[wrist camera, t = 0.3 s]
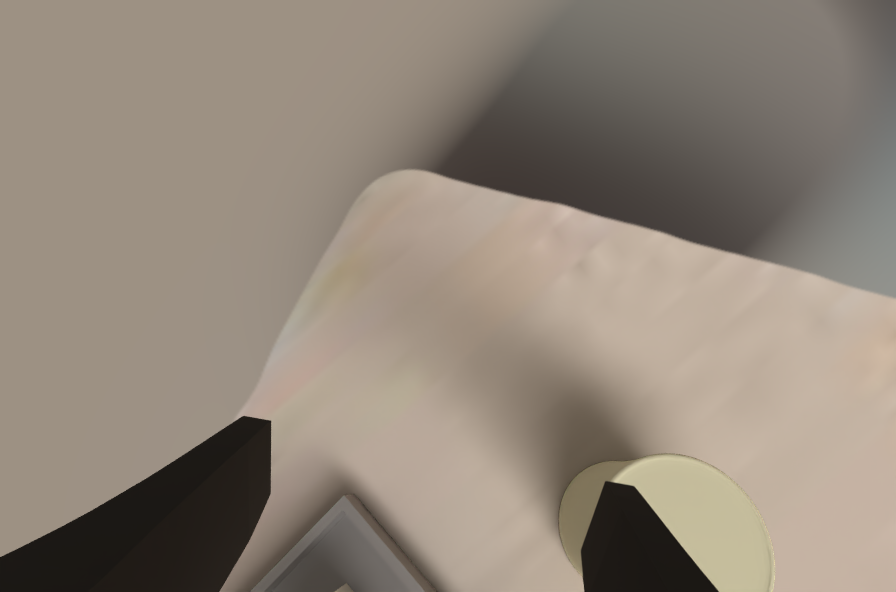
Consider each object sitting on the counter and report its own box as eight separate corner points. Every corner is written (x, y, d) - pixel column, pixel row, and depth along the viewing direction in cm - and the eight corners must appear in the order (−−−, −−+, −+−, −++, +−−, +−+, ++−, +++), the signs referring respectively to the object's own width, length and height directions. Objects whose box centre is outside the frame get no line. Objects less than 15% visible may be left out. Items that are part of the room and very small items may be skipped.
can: (586, 616, 33) (639, 683, 22) (540, 481, 37) (566, 480, 26) (708, 575, 34) (821, 621, 23) (652, 446, 37) (725, 430, 26)
